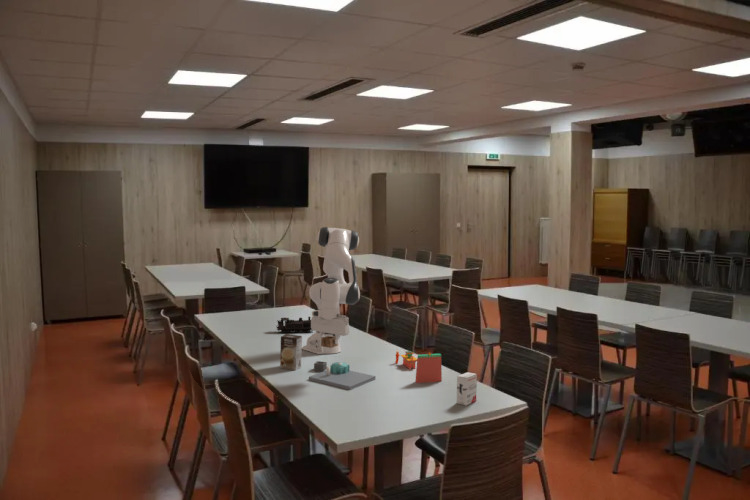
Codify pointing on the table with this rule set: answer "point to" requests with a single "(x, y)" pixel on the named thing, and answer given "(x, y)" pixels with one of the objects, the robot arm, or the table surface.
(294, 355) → the coffee box
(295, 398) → the table surface
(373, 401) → the table surface
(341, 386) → the gear board
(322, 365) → the dark gray block
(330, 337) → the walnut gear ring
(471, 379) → the ink box
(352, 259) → the robot arm
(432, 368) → the toy building block set
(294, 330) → the toy train
